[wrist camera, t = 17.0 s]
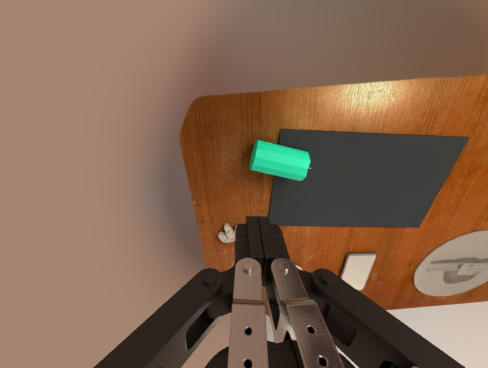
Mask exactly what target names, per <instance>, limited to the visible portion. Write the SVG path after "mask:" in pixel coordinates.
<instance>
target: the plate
mask: <svg viewBox="0 0 488 368" xmlns="http://www.w3.org/2000/svg"><path fill="white" fill-rule="evenodd" d="M413 280H414V284H415V286H416V288H417V289H418V290H419V291H420V292H422V293H424V294H426V295H430V296H449V295H454V294H458V293H462V292H465V291H468V290H470V289H473V288H475V287H477V286H479V285H481V284H483V283H485V282H487V281H488V230H486V231H476V232H471V233H468V234H464V235H461V236H458V237H456V238H454V239H452V240H449V241H447V242H446V243H444V244H442V245H440V246H439V247H437V248H436V249H434V250H433V251H432V252H430V253H429V254H428V255H427V256H426V257H425V258H424V259H423V260H422V261H421V262H420V264H419V265H418V267H417V268H416V270H415V273H414V278H413Z"/></svg>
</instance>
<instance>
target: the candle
mask: <svg viewBox="0 0 488 368" xmlns="http://www.w3.org/2000/svg"><path fill="white" fill-rule="evenodd" d="M310 162H311V161H310V157H309V154H308V152H306V151H302V150H298V149H294V148H290V147H286V146H282V145H278V144H273V143H269V142H265V141H261V140H256V142H255V145H254V147H253V151H252V155H251V160H250V170H253V171H258V172H262V173H267V174H271V175H275V176H280V177H284V178H289V179H293V180H297V181H302V180H303V179H304V178H305V177H306V175H307V170H308V168H309V164H310ZM310 169H311V168H310Z"/></svg>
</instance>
